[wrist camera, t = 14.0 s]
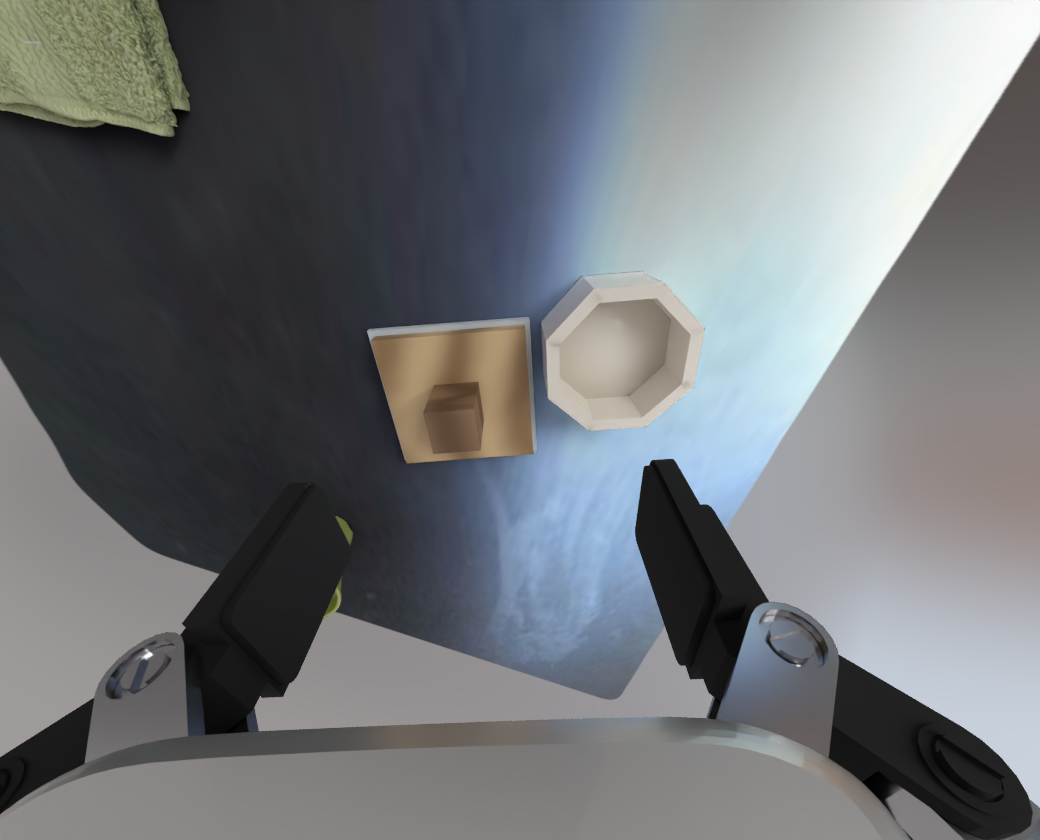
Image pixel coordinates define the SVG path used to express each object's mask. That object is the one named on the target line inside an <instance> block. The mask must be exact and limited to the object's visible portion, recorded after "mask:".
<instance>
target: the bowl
mask: <svg viewBox="0 0 1040 840" xmlns="http://www.w3.org/2000/svg"><path fill="white" fill-rule="evenodd" d="M704 332H705V328H704V327H703V326H702V325H701V323H700V322H699V321H698V320H697V319H696V318H695V317H694V316H693V314H692V313H691V312H690V311H689V310H688V309H687V308H686V307H685V305H684V304H683V303H682V302H681V301H680V300H679V299H678V298H677V297H676V295H675V294H674V293H673V292H672V291H671V290H670V289H669V288H668V286H667V285H666V284H665V283H663V282H662V281H660V280H658V279H656V278H654V277H652V276H650V275H649V274H647V273H645V272H643V271H639V272H626V273H614V274H601V275H588V276H581V278H580V279H579V280H578V281H577V282H576V283H575V284H574V285H573V287H572V288H571V289H570V290H569V291H568V292H567V293H566V294H565V295H564V297H563V298H562V299H561V300H560V301H559V302H558V303H557V304H556V305H555V307H554V308H553V309H552V310H551V311H550V312H549V313H548V314H547V316H546V317H545V318H544V319H543V320H542V321H541V334H542V359H543V376H544V381H545V386H546V391H547V396H548V399H549V400H550V401H552V402H553V403H554V404H556V405H557V406H558V407H559V408H561V409H562V410H563V411H564V412H566V413H567V414H568V415H570V416H571V417H572V418H573V419H575V420H576V421H577V422H578V423H580V424H581V425H582V426H584V427H585V428H586V429H587V430H589V431H595V430H608V429H622V428H636V427H646V426H647V425H649V424H650V423H651V422H652V421H654V420H655V419H656V418H657V417H658V416H660V415H661V414H662V413H663V412H664V411H666V410H667V409H668V408H669V407H671V406H672V405H673V404H674V403H675V402H677V401H678V400H679V399H680V398H681V397H683V396H684V395H685V394H686V393H688V392H689V391H690V390H691V389H692V388H693V387H694V382H695V377H696V372H697V367H698V362H699V357H700V352H701V347H702V342H703V337H704Z"/></svg>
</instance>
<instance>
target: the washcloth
mask: <svg viewBox="0 0 1040 840" xmlns="http://www.w3.org/2000/svg"><path fill="white" fill-rule="evenodd" d="M181 77H182V74H181V72H180V70H179V67H178V61H177V59H176V57H175V54H174V52H173V51H172V48H171V44H170V42H169V36H168V32H167V27H166V25H165V22H164V19H163V16H162V13H161V11H160V9H159V4H158V2H157V0H0V110H2V111H10V112H15V113H21V114H23V115H28V116H31V117H34V118H39V119H43V120H45V121H52V122H55V123H58V124H64V125H68V126H72V127H96V126H99V125H102V124H104V123H108V124H112V125H118V126H124V127H131V128H136V129H139V130H143V131H146V132H149V133H153V134H157V135H160V136H168V137H173V136H174V135H175V133H174V129H173V126H176V127H177V125H176V123H177V120H176V117H175V115H174V113H173V112H172V109H180V110H186V111H190V104H189V101H188V97H190V96H189V94H188V92H187V91H186V88H185V86H184V84H183V82H182V78H181Z"/></svg>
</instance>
